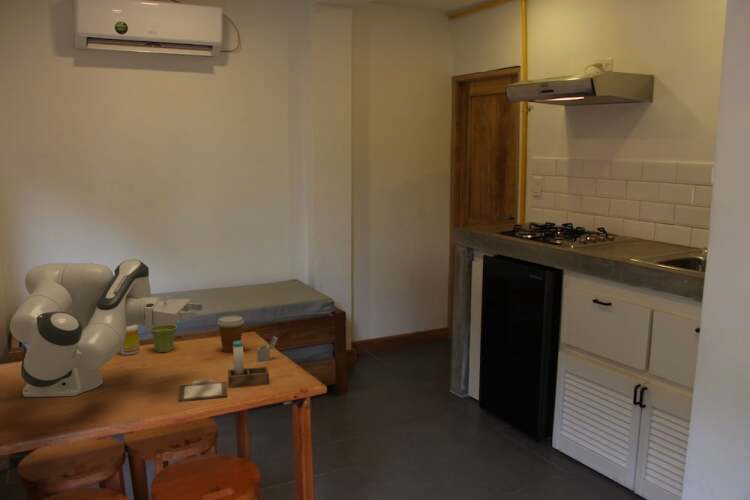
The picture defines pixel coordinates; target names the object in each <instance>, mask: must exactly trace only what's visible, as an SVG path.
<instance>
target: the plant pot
mask: <svg viewBox="0 0 750 500" xmlns="http://www.w3.org/2000/svg"><path fill="white" fill-rule="evenodd" d="M177 328H178V326H177V325H176V324H174V325H167V326H155V327H153V328H149V331H151V334H152V338H153V343H154V348H155V349H154V350H155V352H157V353H162V352H164V353H168V352H171V351H173V349H174V341H175V335H176V334H175V333H176V330H177Z"/></svg>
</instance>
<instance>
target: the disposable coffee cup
mask: <svg viewBox="0 0 750 500" xmlns="http://www.w3.org/2000/svg"><path fill="white" fill-rule="evenodd" d="M244 322H245V320H244V318H243V317H242V316H241V315H225V316H221V317H219V318H218V320H217V325H218V329H219V333H220V334H219V335H220V341H221V346H222V352H224V353H228V354H229V353H233V342H234V341H242V334H243V325H244Z"/></svg>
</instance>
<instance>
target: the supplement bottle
mask: <svg viewBox="0 0 750 500" xmlns="http://www.w3.org/2000/svg"><path fill="white" fill-rule="evenodd" d="M119 353H120V354H121V355H123V356H131V355H136V354H138V353H140V336H139V325H133V326H127V333H126V337H125V340H124V343H123V344H122V346H121V347H120V349H119Z"/></svg>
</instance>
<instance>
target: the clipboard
mask: <svg viewBox="0 0 750 500" xmlns="http://www.w3.org/2000/svg"><path fill="white" fill-rule="evenodd" d="M178 390H179V392H178V399H177V401H178V402H179V403H181V402H192V401H200V400H201V401H203V400H211V399H222V398H228V391H227V381H226V380H225V381H224V380H223V381H214V380H213V379H205V380H195V381H192V383H191V384H190V383H189V384H180V385H179V389H178Z"/></svg>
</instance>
